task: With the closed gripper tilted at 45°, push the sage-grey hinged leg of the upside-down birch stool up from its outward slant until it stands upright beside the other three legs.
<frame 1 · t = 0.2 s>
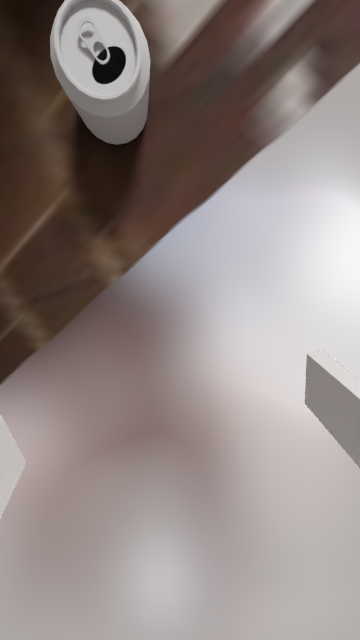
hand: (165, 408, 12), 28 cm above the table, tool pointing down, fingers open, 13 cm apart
can: (114, 108, 30), on the table
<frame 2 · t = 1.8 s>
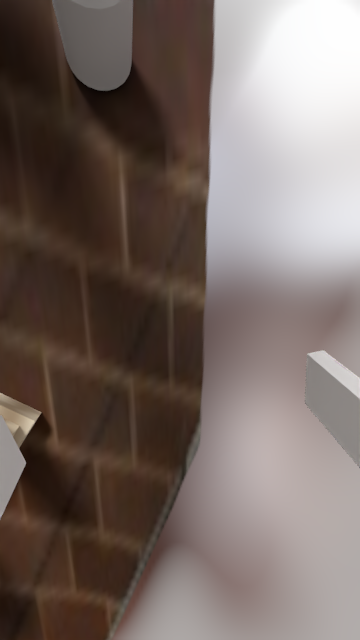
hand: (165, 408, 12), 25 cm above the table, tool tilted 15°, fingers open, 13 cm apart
can: (100, 64, 33), on the table
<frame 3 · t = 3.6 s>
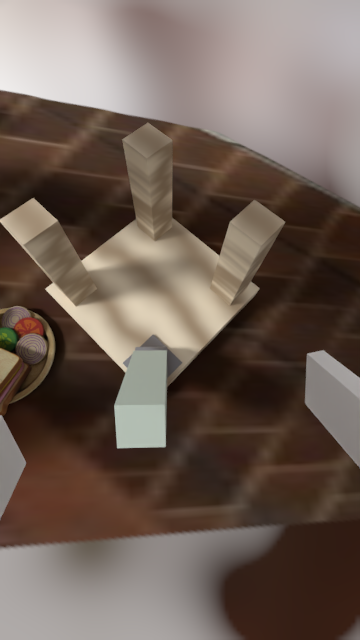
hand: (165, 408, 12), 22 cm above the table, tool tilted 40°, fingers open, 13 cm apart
stool: (155, 296, 38), on the table
toy sandwich meal: (9, 361, 35), on the table
hinged leg: (148, 381, 25), point 9 cm above the table, hinge at 35.0°
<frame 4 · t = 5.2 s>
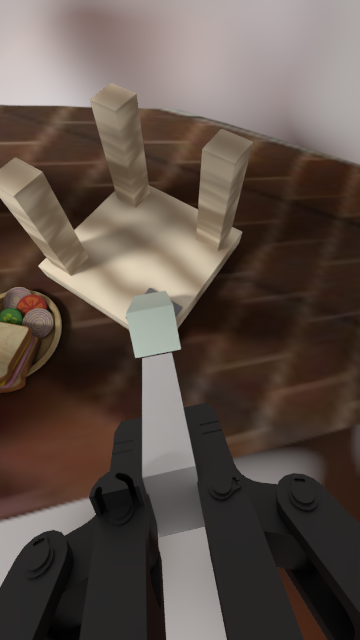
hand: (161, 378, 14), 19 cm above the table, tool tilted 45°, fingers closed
stool: (145, 259, 39), on the table
toy sandwich meal: (18, 341, 35), on the table
hinged leg: (153, 314, 26), point 9 cm above the table, hinge at 35.0°
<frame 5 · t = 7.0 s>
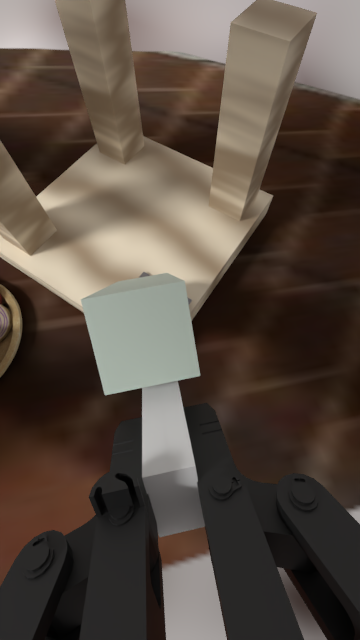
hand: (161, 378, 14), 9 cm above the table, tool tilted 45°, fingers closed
stool: (138, 235, 28), on the table
hinged leg: (146, 309, 16), point 9 cm above the table, hinge at 33.9°, touching gripper
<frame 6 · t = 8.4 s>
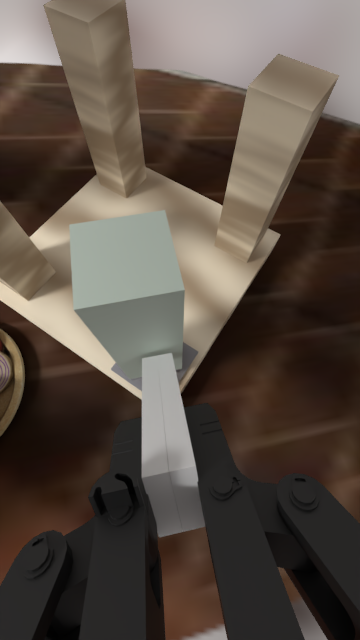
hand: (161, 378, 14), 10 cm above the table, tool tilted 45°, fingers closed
stool: (140, 272, 27), on the table
hinged leg: (145, 329, 15), point 9 cm above the table, hinge at -3.1°, touching gripper
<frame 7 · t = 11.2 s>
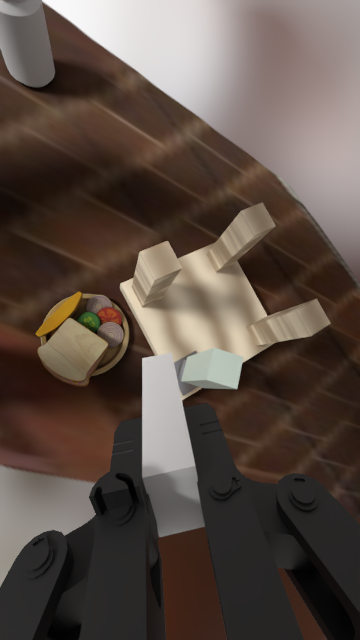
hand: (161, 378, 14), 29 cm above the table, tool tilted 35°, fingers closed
stool: (200, 316, 46), on the table
can: (33, 74, 47), on the table
toy sandwich meal: (87, 339, 41), on the table
hinged leg: (204, 371, 35), point 9 cm above the table, hinge at -3.0°
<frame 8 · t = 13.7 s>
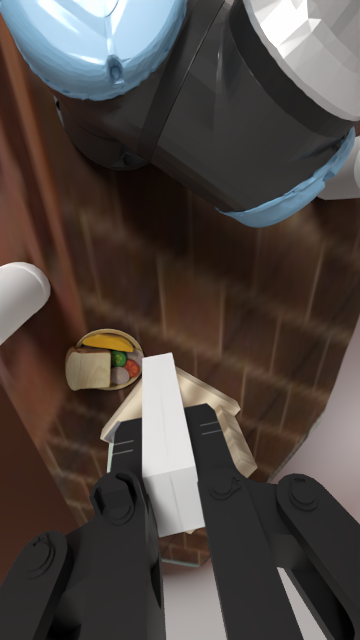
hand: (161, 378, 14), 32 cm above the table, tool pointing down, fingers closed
stool: (170, 415, 56), on the table
bottle: (25, 286, 43), on the table
can: (328, 174, 42), on the table
toy sandwich meal: (106, 358, 49), on the table
hinged leg: (120, 464, 46), point 9 cm above the table, hinge at -3.0°
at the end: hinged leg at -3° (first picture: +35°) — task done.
